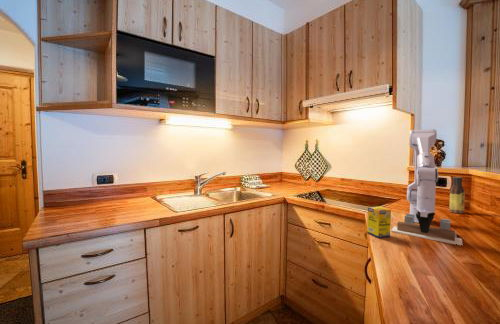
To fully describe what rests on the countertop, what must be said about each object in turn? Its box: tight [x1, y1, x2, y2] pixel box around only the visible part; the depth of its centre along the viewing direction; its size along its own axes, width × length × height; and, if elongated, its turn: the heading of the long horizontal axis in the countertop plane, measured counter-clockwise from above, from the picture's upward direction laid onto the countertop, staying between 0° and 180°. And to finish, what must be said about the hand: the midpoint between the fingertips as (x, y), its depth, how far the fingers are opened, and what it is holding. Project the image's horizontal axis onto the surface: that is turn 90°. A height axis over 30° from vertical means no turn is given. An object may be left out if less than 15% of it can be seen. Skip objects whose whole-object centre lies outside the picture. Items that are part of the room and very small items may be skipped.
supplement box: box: [366, 206, 392, 239], centre depth 92 cm, size 6×6×11 cm
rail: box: [396, 221, 456, 241], centre depth 92 cm, size 3×18×3 cm, turn 49°
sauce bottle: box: [448, 176, 466, 215], centre depth 128 cm, size 7×6×20 cm
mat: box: [390, 225, 463, 247], centre depth 92 cm, size 7×22×1 cm, turn 49°
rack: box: [404, 213, 458, 238], centre depth 98 cm, size 6×19×6 cm, turn 49°
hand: (424, 231), depth 92 cm, fingers open, 4 cm apart
